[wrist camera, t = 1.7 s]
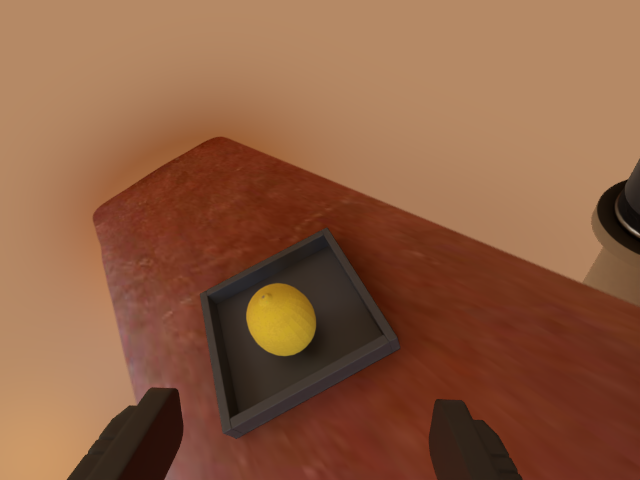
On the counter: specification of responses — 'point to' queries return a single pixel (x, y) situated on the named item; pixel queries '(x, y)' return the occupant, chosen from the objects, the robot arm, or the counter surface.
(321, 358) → the dark grey tray
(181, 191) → the counter surface
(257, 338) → the lemon
